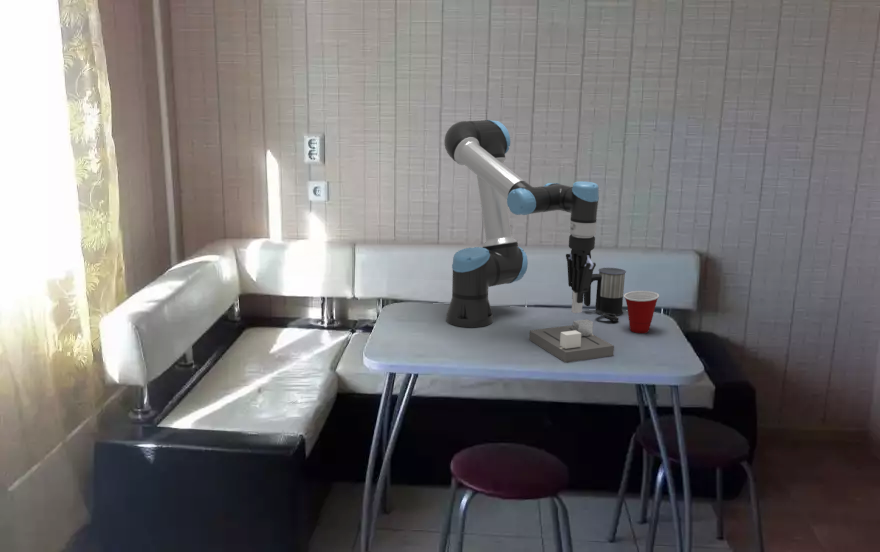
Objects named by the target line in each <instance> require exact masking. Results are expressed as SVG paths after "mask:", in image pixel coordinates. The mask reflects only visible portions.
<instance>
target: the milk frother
mask: <svg viewBox="0 0 880 552" xmlns="http://www.w3.org/2000/svg"><path fill="white" fill-rule="evenodd" d="M626 273H627V270H625V269H621V268H617V267H601V268H598V273H593V274H592V278H591V283H590V287H589V291H588V292H584V295H583V304H584V305H585V306H586V307H590V306H591V303H592V302H591V300H592V299H591V296H592V293H591V292H592V291H591V289H592V283H594V282H595V281H596V282H597V283H596V295H595V296H596V297H595V313H596V314H598V315H600V316H603V318H606V319H607V320H609V321H610V322H614V321H619V320H620V319H619V316H622V315H623V313H624V312H623V302H624V289H625V278H626V277H625V276H626Z"/></svg>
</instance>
